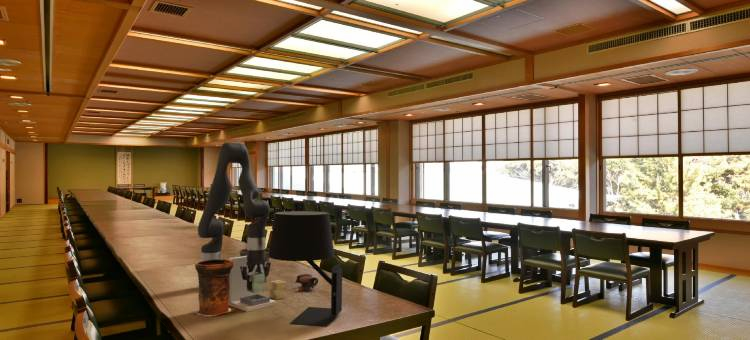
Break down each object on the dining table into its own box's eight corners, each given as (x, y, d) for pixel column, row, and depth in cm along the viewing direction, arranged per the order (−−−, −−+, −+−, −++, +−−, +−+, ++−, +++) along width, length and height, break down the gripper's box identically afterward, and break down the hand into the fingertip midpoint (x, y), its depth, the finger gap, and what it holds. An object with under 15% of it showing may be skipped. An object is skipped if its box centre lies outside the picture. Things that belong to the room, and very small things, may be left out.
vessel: (210, 319, 168) (211, 265, 169) (186, 313, 175) (187, 262, 176) (240, 310, 180) (241, 260, 181) (217, 305, 188) (217, 257, 188)
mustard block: (269, 297, 201) (270, 281, 201) (278, 295, 205) (279, 279, 205) (276, 299, 198) (277, 283, 198) (285, 297, 202) (286, 281, 202)
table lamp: (329, 328, 160) (331, 216, 161) (255, 323, 165) (257, 214, 166) (346, 308, 185) (348, 211, 186) (282, 304, 190) (283, 209, 191)
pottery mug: (292, 292, 212) (291, 275, 216) (300, 296, 220) (300, 280, 224) (315, 287, 210) (314, 270, 214) (323, 292, 218) (322, 275, 222)
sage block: (246, 290, 187) (247, 274, 187) (257, 288, 191) (257, 272, 191) (254, 293, 184) (254, 275, 184) (264, 290, 188) (264, 274, 188)
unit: (227, 304, 188) (228, 258, 188) (255, 298, 199) (256, 254, 199) (247, 311, 179) (248, 262, 179) (276, 304, 189) (276, 258, 190)
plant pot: (277, 280, 233) (278, 249, 234) (254, 286, 220) (254, 253, 220) (255, 276, 242) (256, 246, 242) (231, 282, 228) (232, 250, 229)
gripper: (264, 245, 196) (264, 284, 195) (236, 248, 185) (235, 290, 184) (275, 247, 191) (274, 287, 190) (246, 250, 180) (245, 293, 179)
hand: (255, 288), depth 187 cm, fingers closed on sage block, 5 cm apart
